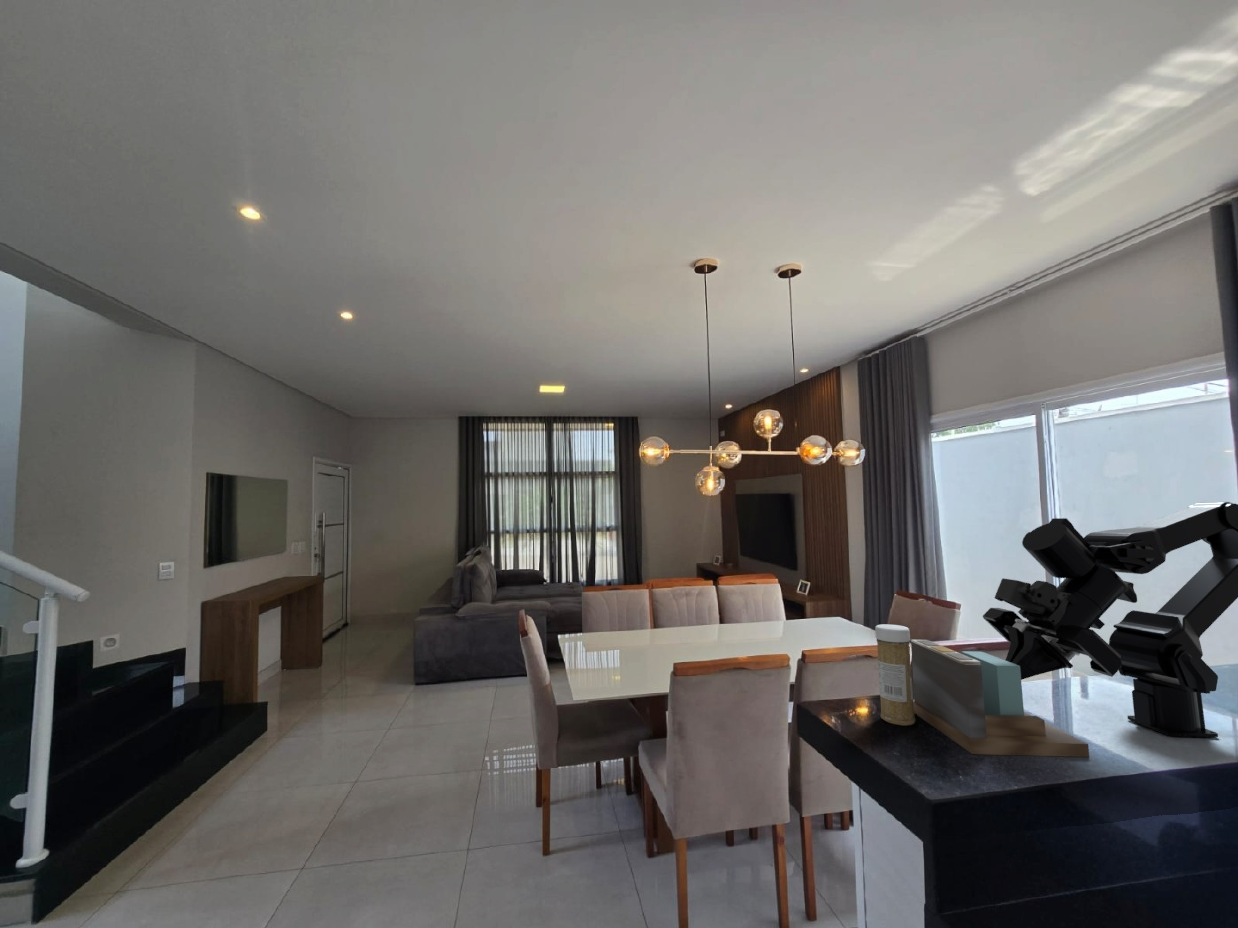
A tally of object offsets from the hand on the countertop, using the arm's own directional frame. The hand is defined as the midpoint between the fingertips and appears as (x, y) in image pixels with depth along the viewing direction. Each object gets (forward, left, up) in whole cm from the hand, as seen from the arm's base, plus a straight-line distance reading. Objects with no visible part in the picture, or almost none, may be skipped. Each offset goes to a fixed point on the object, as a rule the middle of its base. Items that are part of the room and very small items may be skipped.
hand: (1004, 680), depth 73 cm
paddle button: (+2, 0, -5) cm, 5 cm away
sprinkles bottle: (+14, -3, -7) cm, 16 cm away
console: (+3, 0, -7) cm, 7 cm away
